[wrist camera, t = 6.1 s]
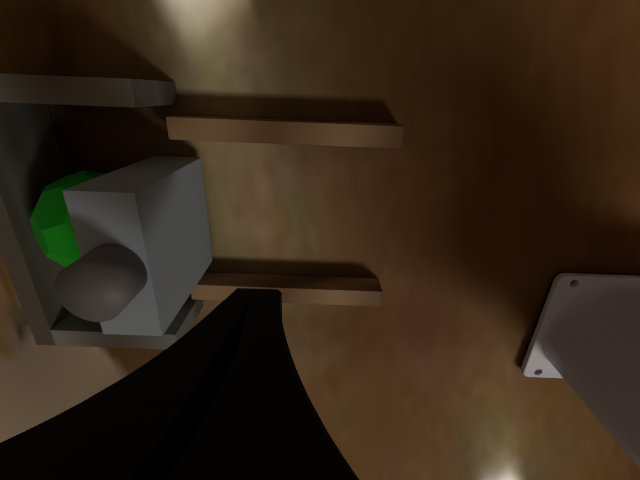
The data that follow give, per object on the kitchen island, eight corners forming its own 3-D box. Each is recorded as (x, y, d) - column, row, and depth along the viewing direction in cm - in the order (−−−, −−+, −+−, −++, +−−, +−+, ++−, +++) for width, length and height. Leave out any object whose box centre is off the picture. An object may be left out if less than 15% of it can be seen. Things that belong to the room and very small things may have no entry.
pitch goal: (401, 91, 16) (424, 90, 12) (374, 311, 21) (384, 357, 18) (18, 75, 16) (-72, 70, 12) (86, 301, 21) (36, 344, 18)
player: (201, 157, 17) (105, 208, 10) (212, 260, 20) (142, 365, 12) (154, 155, 17) (22, 205, 10) (171, 259, 20) (76, 363, 12)
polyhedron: (58, 194, 18) (-24, 226, 14) (119, 144, 17) (50, 161, 13) (126, 261, 20) (71, 307, 16) (185, 219, 19) (144, 257, 15)
